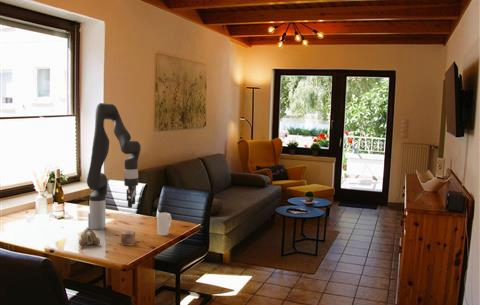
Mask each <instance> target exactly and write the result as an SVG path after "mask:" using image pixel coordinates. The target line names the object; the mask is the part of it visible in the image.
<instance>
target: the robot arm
mask: <svg viewBox="0 0 480 305" xmlns="http://www.w3.org/2000/svg"><path fill="white" fill-rule="evenodd" d="M94 116H95V118H94V119H95V121H94V134H93V135H94V136H93V142H92V149H91V158H90V163H89V164H90V165H89V168H88V169H89V170H88V173H87V177H86V186H87V187H88V188H89V189H90V190H92V191H91V193H90V195H89V199H88V200H89V201H88V203H89V208H88V209H89V212H87V214H88V215H87V216H88V218H87V219H88V220H87V225H88V228H89V229H91V230H103V229H105V228H106V225H107V224H106V197H107V193H108V178H107V174H105V173H104V172H102V167H103V165H104V163H105V162H106V159H107V156H108V154H109V150H110V139H109V137H108V134H107V132H106V130H105V120H111V121H112V122H113V124H114V126H113V133H114V135H115V137H116V138H117V141H118V142H119V147H120V151H121V152H122V153H123V154H125V155H130V156H129V157H127V158H125V159H124V171H123V173H124V174H123V176H124V177H123V178H124V182H123V183H124V187H127V189H126V201H127V207H128V208H129V209H131V208H132V207H133V205H135V204H136V197H137V186H138V185H139V169H138V168H139V167H138V166H139V165H138V164H139V162H138V161H139V157H140V154H141V144H140V142H139V141H138V140H132V136H131V134H130V133H129V131H128V130H127V128H126V126H125V124H124V122H123V120H122V118H121V115H120V113H119V110H118V108H117V106H116V105H115V104H113V103H107V102H105V103H104V102H99V103H98V104H97V105H96V109H95V115H94Z"/></svg>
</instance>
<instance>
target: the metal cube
mask: <svg viewBox="0 0 480 305" xmlns="http://www.w3.org/2000/svg"><path fill="white" fill-rule="evenodd" d="M120 234H121V235H120V237H121V238H120V244H121V246H122V245H123V246H133V245H134V244H133V243H135V242H136V231H135V230H123V231H122V232H121V233H120Z"/></svg>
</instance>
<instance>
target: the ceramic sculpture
mask: <svg viewBox="0 0 480 305" xmlns="http://www.w3.org/2000/svg"><path fill="white" fill-rule="evenodd" d="M81 232H82V233H81V234H80V239H79V242H78V244H79V246H80V247H84V246H85V245H88V246H90V245H94V244H95V245H100V244H101V239H100V237H97V235H96V232H94V231H93V229H89V228H88V227H86V228H85V229H84V230H83V231H81Z"/></svg>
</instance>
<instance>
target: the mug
mask: <svg viewBox="0 0 480 305" xmlns="http://www.w3.org/2000/svg"><path fill="white" fill-rule="evenodd" d="M156 216H157V218H156V220H157V222H156V223H157V236H158V235H159V236H168V235H169V230H170V228H171V225H172V220H173V219H172V216H171V213H169V212H159V213H157V214H156Z"/></svg>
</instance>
